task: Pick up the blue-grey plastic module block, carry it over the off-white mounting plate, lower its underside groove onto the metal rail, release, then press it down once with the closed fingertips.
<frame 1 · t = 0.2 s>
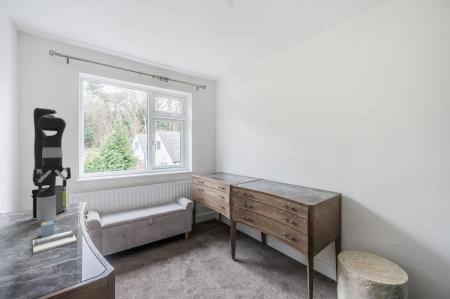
hand: (52, 188, 97), 28 cm above the table, fingers open, 8 cm apart
module: (47, 234, 108), on the table
rail plate: (54, 241, 100), on the table
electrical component: (50, 214, 141), on the table
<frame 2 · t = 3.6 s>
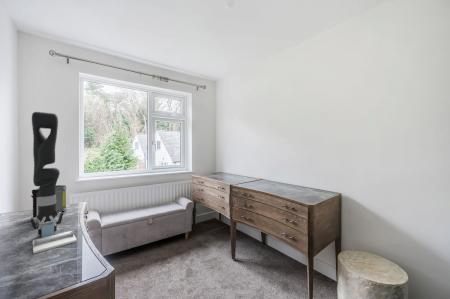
hand: (47, 233, 108), 1 cm above the table, fingers closed on module, 5 cm apart
module: (47, 234, 108), on the table, touching gripper
everything else where it was.
when the fingers open (3 cm above the table, at t = 7.7 s): module stays where it is, resting on rail plate.
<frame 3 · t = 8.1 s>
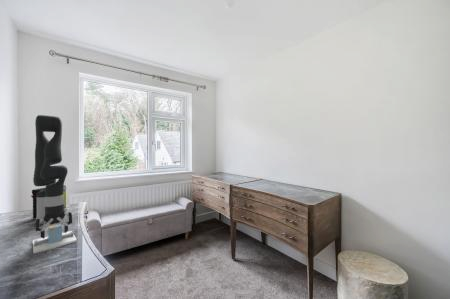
hand: (54, 235, 100), 3 cm above the table, fingers open, 8 cm apart
module: (54, 239, 100), point 1 cm above the table, touching rail plate
everything else where it was.
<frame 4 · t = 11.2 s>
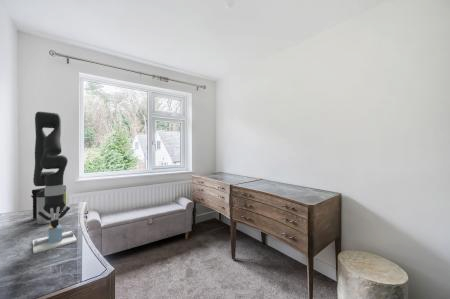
hand: (54, 226, 99), 8 cm above the table, fingers closed
module: (54, 239, 100), point 1 cm above the table, touching gripper, rail plate
everything else where it was.
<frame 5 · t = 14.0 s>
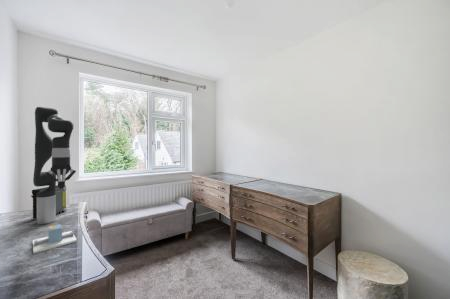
hand: (61, 188, 104), 27 cm above the table, fingers closed
module: (54, 239, 100), point 1 cm above the table, touching rail plate
everything else where it was.
at the end: module 0.0 cm off-centre on the rail plate, point 1.0 cm above the rail plate's base; module tilted 0°; the gripper is holding nothing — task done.
